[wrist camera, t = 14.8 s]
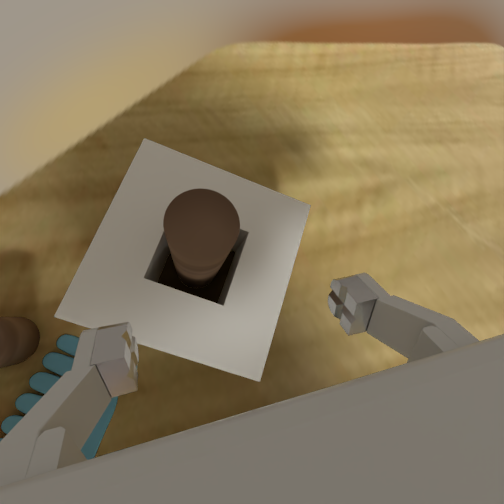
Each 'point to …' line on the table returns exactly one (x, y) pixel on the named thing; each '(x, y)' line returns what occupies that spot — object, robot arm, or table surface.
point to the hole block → (156, 254)
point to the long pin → (200, 234)
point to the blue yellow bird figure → (46, 381)
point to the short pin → (17, 340)
